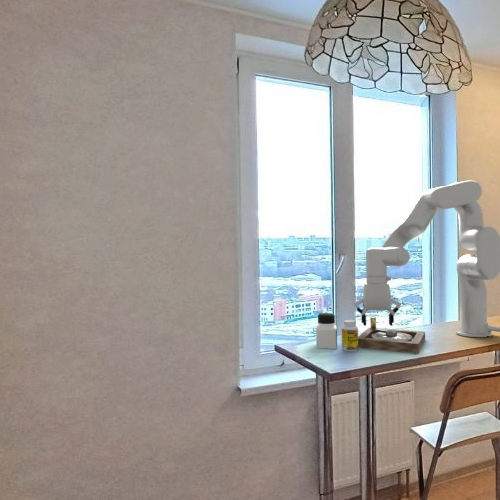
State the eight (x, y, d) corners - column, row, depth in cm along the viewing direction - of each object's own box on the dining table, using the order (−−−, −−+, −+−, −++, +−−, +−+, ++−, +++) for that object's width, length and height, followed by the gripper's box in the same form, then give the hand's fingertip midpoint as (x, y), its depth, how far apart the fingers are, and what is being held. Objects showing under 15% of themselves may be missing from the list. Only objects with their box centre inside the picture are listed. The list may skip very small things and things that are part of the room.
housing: (425, 340, 164) (425, 331, 164) (418, 353, 146) (418, 343, 146) (368, 335, 174) (368, 327, 174) (355, 347, 155) (355, 338, 155)
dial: (420, 340, 158) (419, 321, 157) (394, 346, 150) (393, 325, 150) (383, 333, 172) (383, 315, 171) (358, 338, 164) (358, 319, 164)
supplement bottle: (346, 352, 149) (346, 322, 149) (339, 348, 154) (338, 320, 154) (361, 351, 150) (360, 321, 150) (353, 347, 156) (352, 318, 155)
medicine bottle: (336, 349, 154) (336, 315, 154) (316, 348, 155) (315, 315, 155) (337, 344, 161) (336, 311, 161) (317, 343, 162) (316, 311, 162)
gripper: (398, 279, 169) (399, 323, 169) (352, 279, 171) (353, 323, 171) (402, 280, 161) (403, 326, 162) (354, 281, 164) (355, 326, 164)
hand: (377, 324), depth 167 cm, fingers open, 9 cm apart
